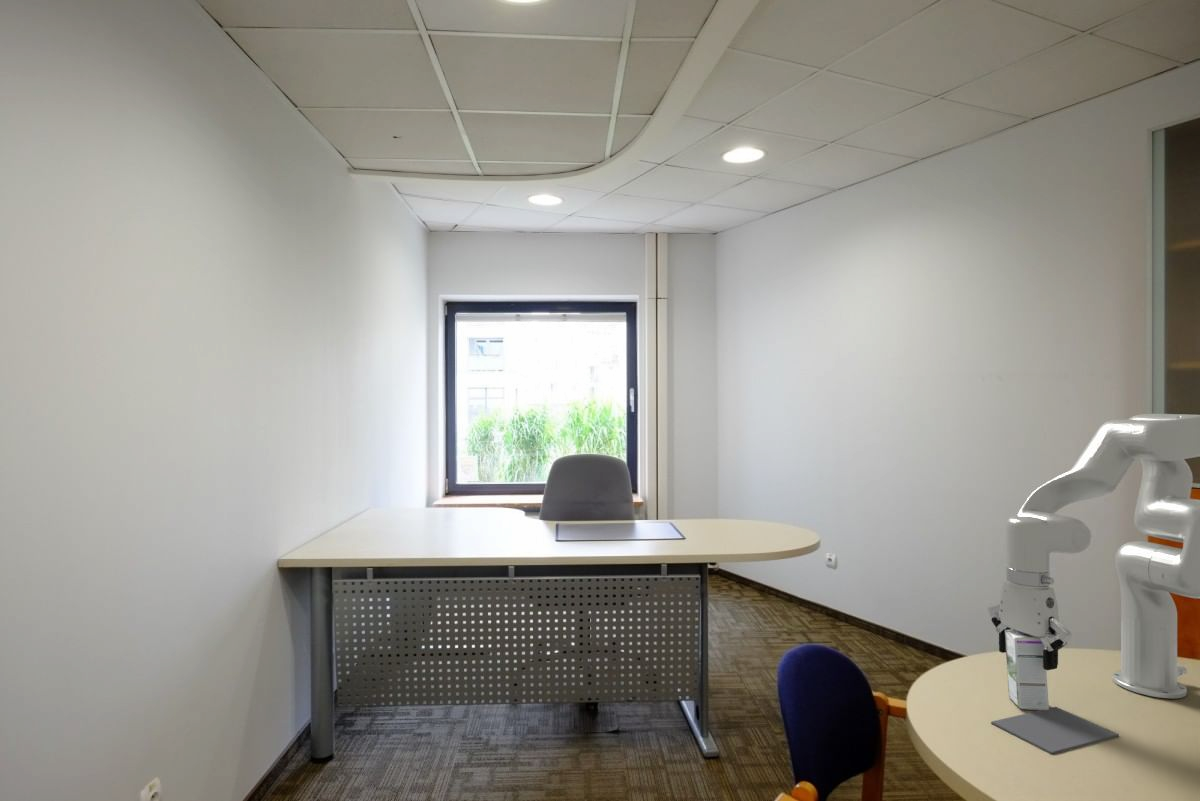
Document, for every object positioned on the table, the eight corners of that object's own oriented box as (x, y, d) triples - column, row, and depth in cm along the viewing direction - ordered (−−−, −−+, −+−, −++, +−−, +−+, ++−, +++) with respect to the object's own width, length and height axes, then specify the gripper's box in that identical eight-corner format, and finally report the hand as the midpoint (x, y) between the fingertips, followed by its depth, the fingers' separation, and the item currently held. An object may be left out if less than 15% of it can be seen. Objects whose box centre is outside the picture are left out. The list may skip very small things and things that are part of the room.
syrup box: (1050, 711, 135) (1046, 637, 135) (1017, 709, 136) (1014, 636, 137) (1038, 699, 140) (1034, 629, 141) (1007, 698, 142) (1003, 628, 142)
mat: (1055, 708, 137) (1055, 706, 137) (1118, 736, 126) (1118, 734, 126) (991, 723, 131) (991, 721, 131) (1051, 754, 119) (1051, 752, 119)
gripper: (1082, 586, 131) (1082, 673, 131) (1002, 565, 148) (1002, 643, 148) (1056, 590, 129) (1055, 679, 129) (977, 568, 145) (977, 647, 145)
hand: (1027, 660), depth 138 cm, fingers open, 9 cm apart
